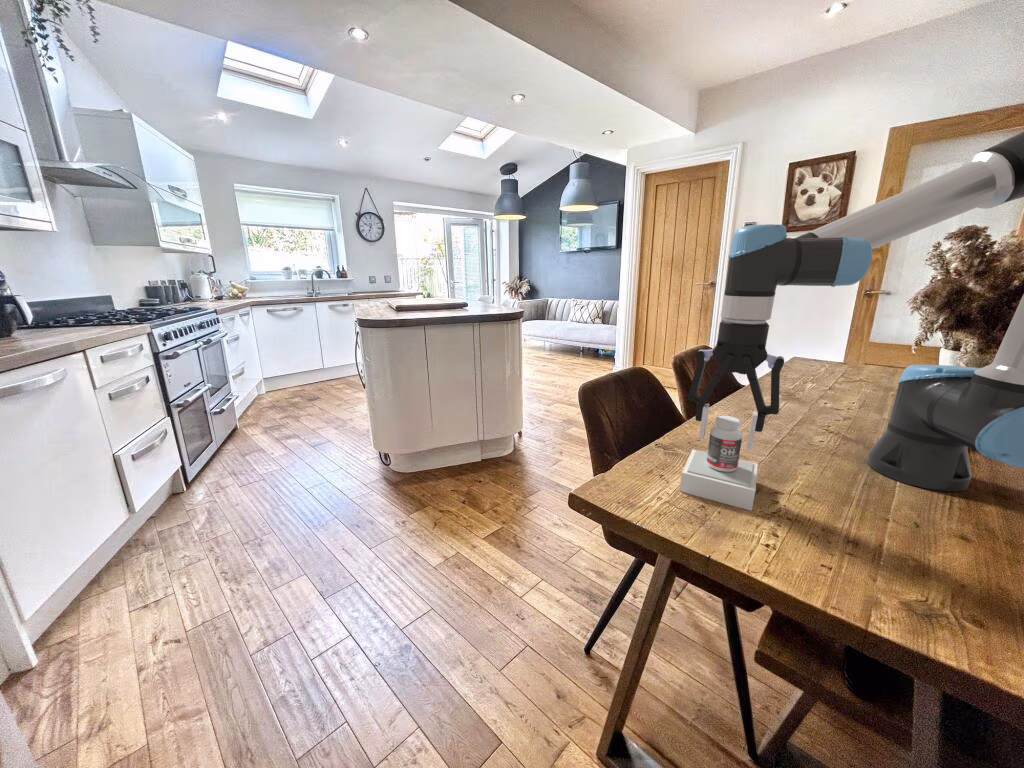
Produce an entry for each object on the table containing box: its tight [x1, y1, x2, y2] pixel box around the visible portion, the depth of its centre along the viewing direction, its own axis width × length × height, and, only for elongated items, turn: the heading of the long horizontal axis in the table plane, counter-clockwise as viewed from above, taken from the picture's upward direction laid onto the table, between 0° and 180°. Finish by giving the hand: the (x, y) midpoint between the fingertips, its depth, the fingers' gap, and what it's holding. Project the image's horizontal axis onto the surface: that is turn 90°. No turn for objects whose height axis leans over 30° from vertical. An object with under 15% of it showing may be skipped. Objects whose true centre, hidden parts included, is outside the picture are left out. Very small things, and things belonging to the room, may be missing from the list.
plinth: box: [679, 448, 759, 511], centre depth 76 cm, size 12×12×4 cm
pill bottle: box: [707, 415, 743, 472], centre depth 75 cm, size 5×5×10 cm
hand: (725, 441), depth 74 cm, fingers open, 7 cm apart
